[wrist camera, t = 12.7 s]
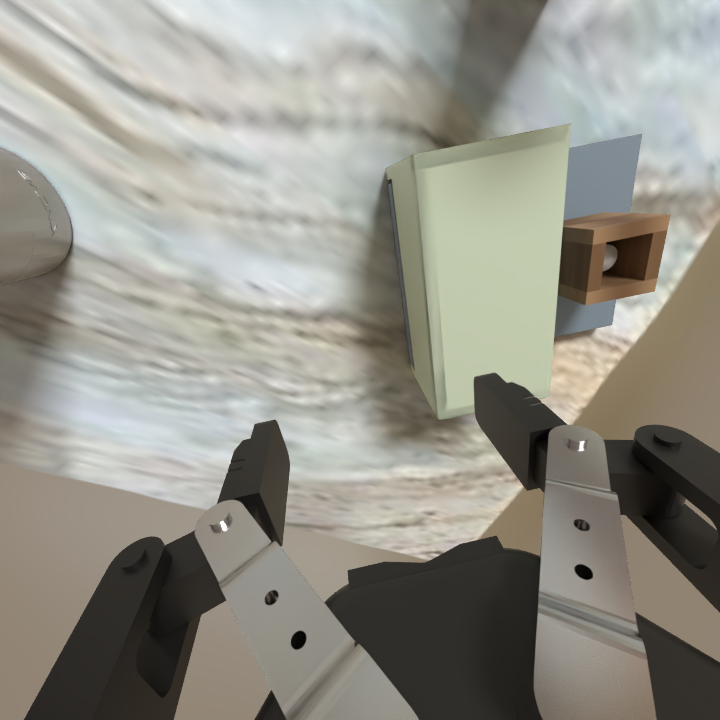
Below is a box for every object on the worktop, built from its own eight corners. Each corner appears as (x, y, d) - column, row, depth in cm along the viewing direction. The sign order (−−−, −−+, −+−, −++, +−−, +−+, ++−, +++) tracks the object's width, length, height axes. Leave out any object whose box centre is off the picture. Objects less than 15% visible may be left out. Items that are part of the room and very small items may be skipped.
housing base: (409, 360, 34) (424, 386, 29) (387, 184, 27) (402, 180, 22) (600, 320, 35) (647, 339, 30) (626, 137, 28) (693, 122, 23)
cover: (411, 370, 35) (438, 420, 27) (385, 168, 27) (413, 154, 19) (497, 352, 35) (549, 396, 27) (496, 146, 27) (570, 123, 19)
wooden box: (538, 287, 31) (585, 305, 25) (542, 224, 29) (594, 229, 23) (596, 275, 31) (654, 291, 26) (604, 212, 29) (670, 214, 23)
